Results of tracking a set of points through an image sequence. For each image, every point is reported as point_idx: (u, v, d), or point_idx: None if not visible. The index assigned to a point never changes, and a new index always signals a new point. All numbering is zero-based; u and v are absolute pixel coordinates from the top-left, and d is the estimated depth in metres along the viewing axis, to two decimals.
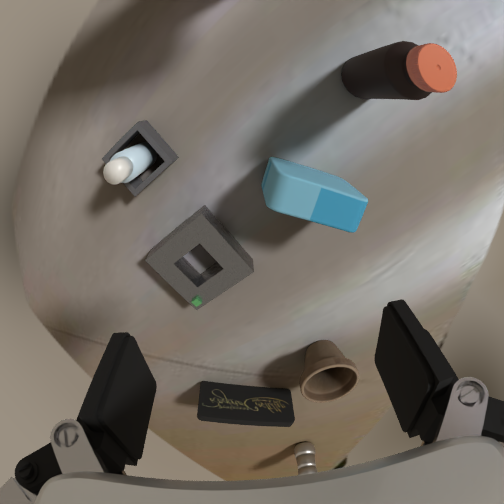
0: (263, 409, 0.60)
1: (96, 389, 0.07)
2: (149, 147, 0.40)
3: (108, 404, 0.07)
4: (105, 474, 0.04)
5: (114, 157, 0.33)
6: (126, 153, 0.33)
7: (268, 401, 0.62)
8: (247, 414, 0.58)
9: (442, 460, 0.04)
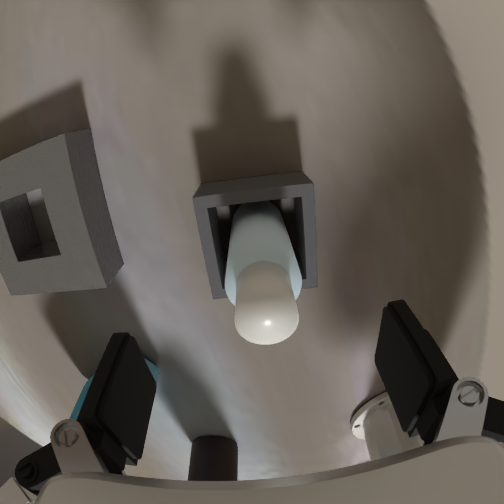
0: None
1: (96, 389, 0.07)
2: None
3: (108, 404, 0.07)
4: (105, 474, 0.04)
5: (296, 281, 0.16)
6: None
7: None
8: None
9: (442, 460, 0.04)
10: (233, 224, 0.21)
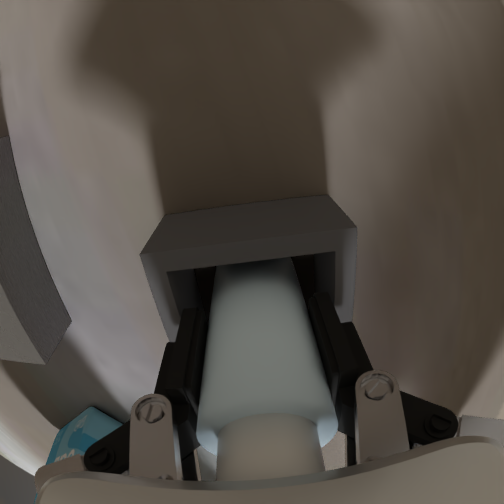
0: None
1: (180, 360, 0.08)
2: None
3: (193, 374, 0.08)
4: (105, 474, 0.04)
5: (328, 429, 0.07)
6: None
7: None
8: None
9: (442, 460, 0.04)
10: (215, 288, 0.13)
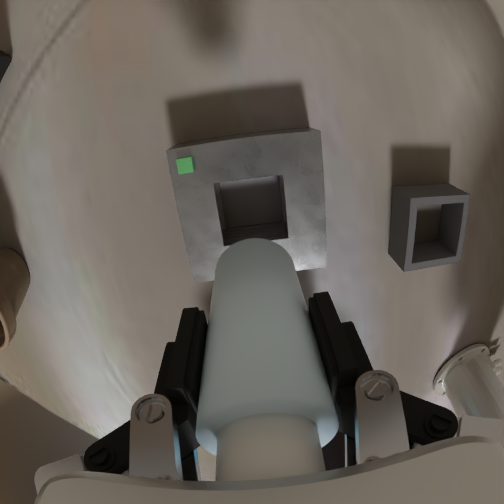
0: None
1: (179, 360, 0.08)
2: None
3: (193, 374, 0.08)
4: (105, 474, 0.04)
5: (328, 429, 0.07)
6: None
7: None
8: None
9: (442, 460, 0.04)
10: (215, 287, 0.13)
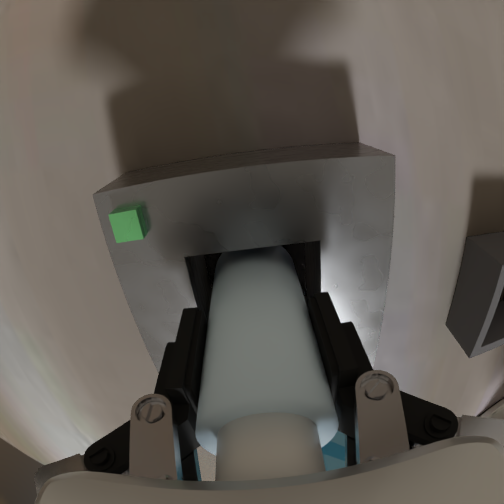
0: None
1: (180, 360, 0.08)
2: None
3: (193, 375, 0.08)
4: (105, 474, 0.04)
5: (328, 429, 0.07)
6: None
7: None
8: None
9: (442, 460, 0.04)
10: (215, 286, 0.13)
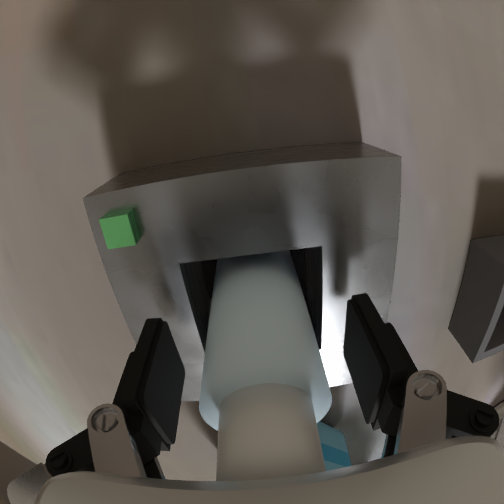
0: None
1: (135, 372, 0.08)
2: None
3: (148, 387, 0.08)
4: (105, 474, 0.04)
5: (322, 403, 0.08)
6: None
7: None
8: None
9: (442, 460, 0.04)
10: (217, 275, 0.14)
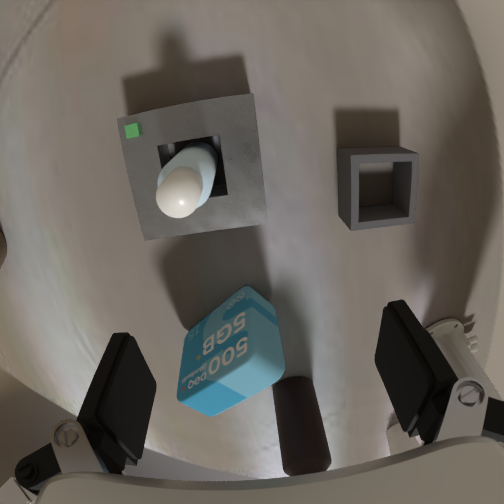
0: None
1: (96, 389, 0.07)
2: None
3: (108, 404, 0.07)
4: (105, 474, 0.04)
5: (207, 181, 0.21)
6: (200, 201, 0.22)
7: None
8: None
9: (442, 460, 0.04)
10: None
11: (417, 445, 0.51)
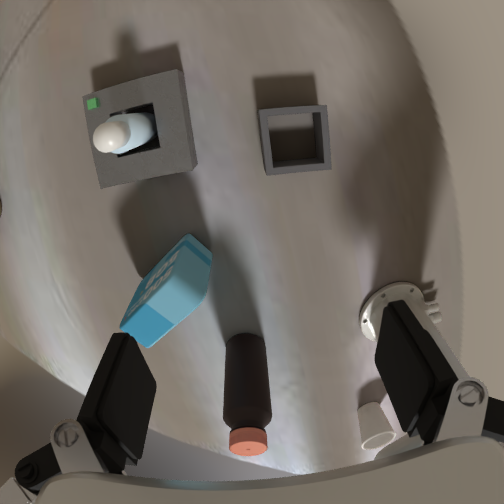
0: None
1: (96, 389, 0.07)
2: None
3: (108, 404, 0.07)
4: (105, 474, 0.04)
5: (133, 130, 0.26)
6: (129, 146, 0.27)
7: None
8: None
9: (442, 460, 0.04)
10: None
11: (388, 426, 0.54)
